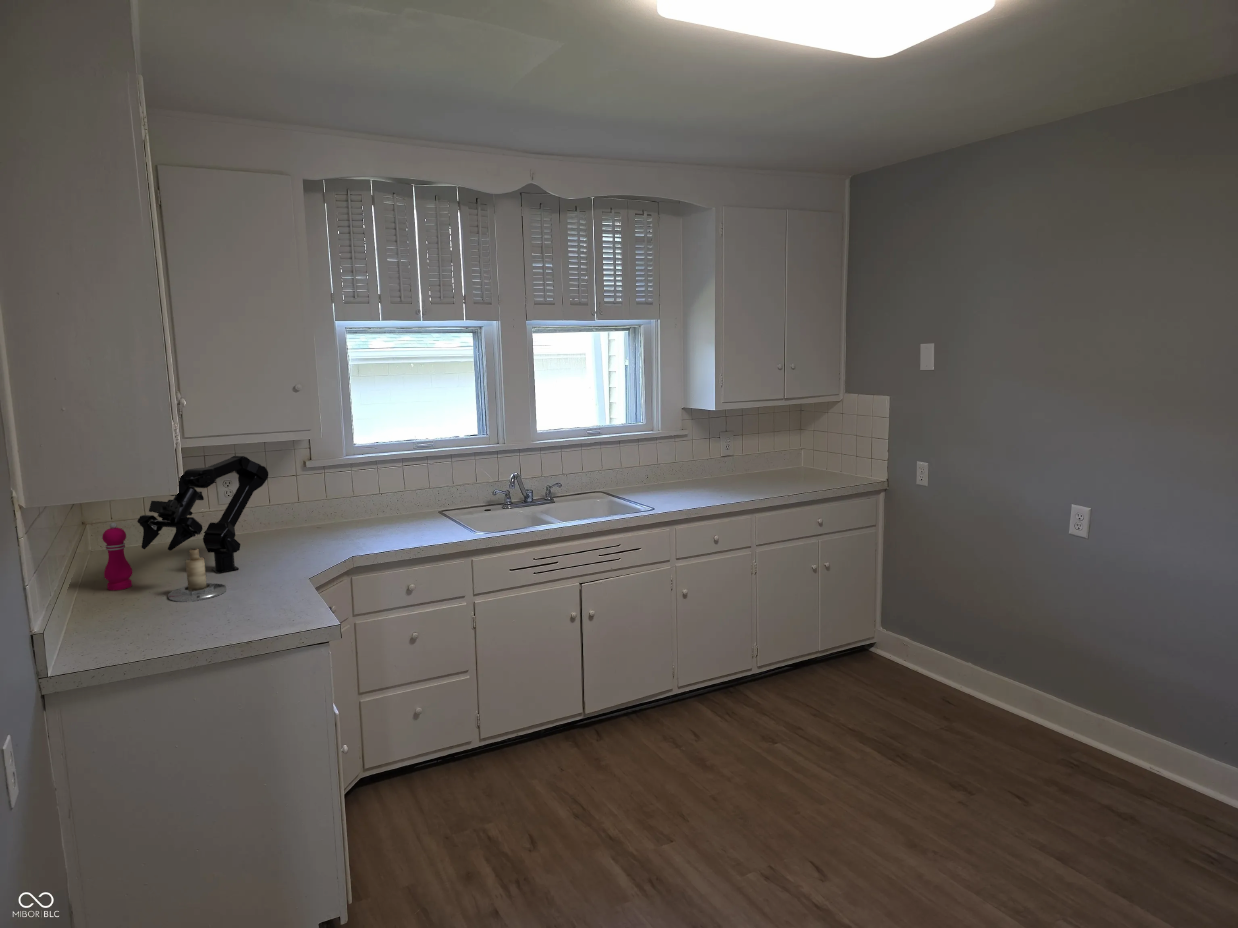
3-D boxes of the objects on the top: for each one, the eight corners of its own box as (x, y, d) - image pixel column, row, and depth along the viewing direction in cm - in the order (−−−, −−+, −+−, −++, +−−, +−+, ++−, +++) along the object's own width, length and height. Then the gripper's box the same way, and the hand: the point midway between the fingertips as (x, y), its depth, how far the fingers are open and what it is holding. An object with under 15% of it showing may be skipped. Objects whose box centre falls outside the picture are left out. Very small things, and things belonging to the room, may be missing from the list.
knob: (184, 592, 229) (180, 550, 227) (199, 587, 233) (195, 546, 231) (196, 594, 227) (192, 551, 225) (210, 589, 231) (206, 547, 229)
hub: (168, 591, 233) (168, 584, 233) (224, 583, 240) (224, 576, 240) (168, 605, 220) (167, 598, 220) (227, 596, 227) (227, 589, 227)
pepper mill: (109, 585, 239) (101, 521, 236) (136, 582, 242) (129, 519, 239) (103, 592, 233) (95, 526, 230) (131, 589, 235) (124, 524, 232)
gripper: (139, 488, 233) (110, 533, 224) (191, 490, 228) (164, 536, 219) (163, 509, 241) (136, 552, 232) (214, 511, 237) (189, 556, 228)
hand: (155, 549), depth 228 cm, fingers open, 9 cm apart
